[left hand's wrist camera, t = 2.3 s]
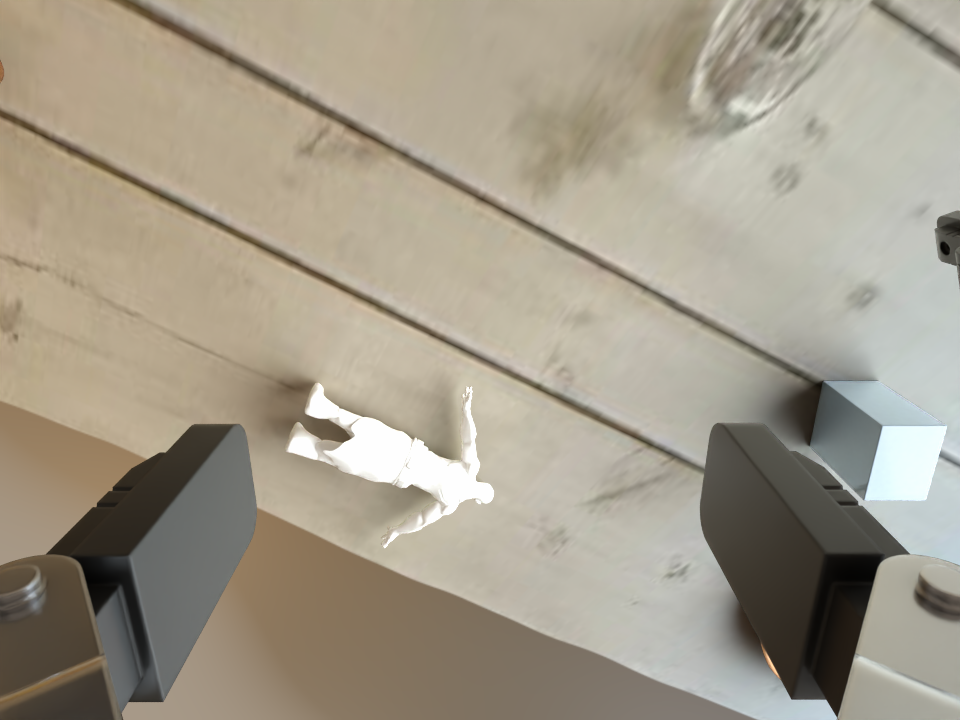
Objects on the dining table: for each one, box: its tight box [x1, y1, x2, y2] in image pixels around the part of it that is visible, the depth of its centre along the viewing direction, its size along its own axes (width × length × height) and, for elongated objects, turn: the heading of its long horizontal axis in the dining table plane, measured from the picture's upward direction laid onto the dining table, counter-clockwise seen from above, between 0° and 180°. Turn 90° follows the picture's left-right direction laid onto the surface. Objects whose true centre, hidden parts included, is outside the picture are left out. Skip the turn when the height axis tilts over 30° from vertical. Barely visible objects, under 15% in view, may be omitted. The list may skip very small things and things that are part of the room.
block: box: [810, 381, 947, 500], centre depth 51 cm, size 5×6×8 cm
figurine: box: [285, 383, 494, 548], centre depth 54 cm, size 17×5×18 cm
